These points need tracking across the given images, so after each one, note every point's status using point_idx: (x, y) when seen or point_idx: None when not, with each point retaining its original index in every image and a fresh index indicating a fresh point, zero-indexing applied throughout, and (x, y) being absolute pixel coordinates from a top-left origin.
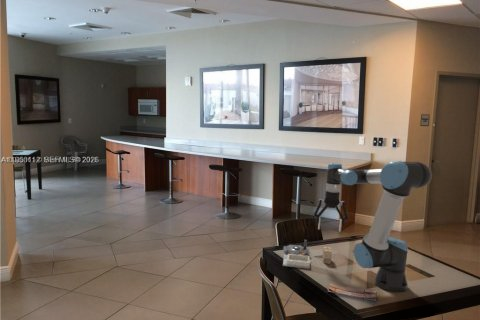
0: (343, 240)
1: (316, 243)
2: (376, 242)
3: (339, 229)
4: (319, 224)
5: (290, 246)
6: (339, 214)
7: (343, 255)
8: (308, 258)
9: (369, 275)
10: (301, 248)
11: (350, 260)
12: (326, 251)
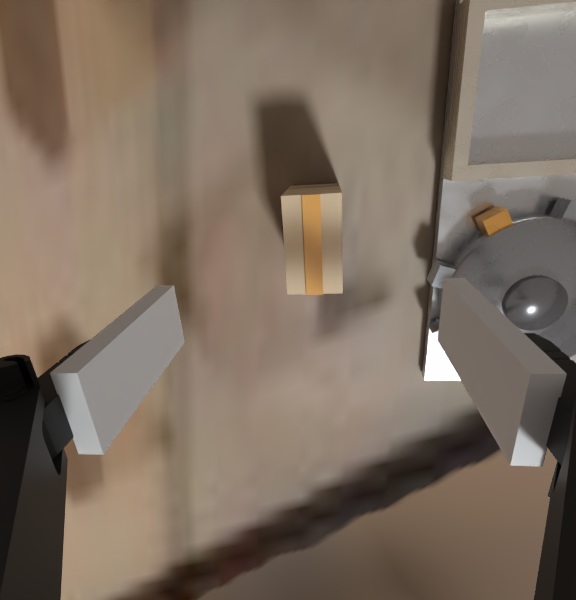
0: (220, 557)
1: (359, 492)
2: None
3: (169, 316)
4: (481, 309)
5: (572, 335)
6: (17, 477)
7: (215, 361)
8: (466, 117)
9: (45, 61)
10: None
11: None
12: (324, 193)
